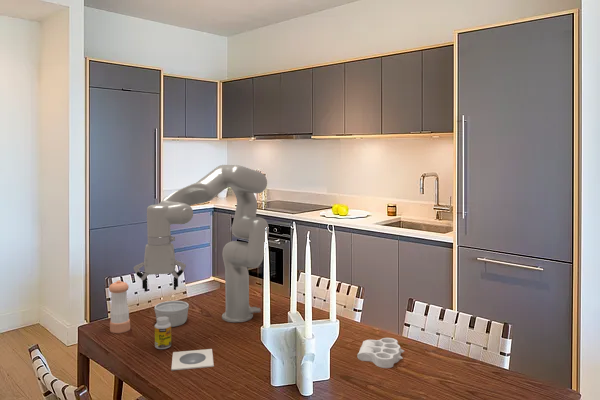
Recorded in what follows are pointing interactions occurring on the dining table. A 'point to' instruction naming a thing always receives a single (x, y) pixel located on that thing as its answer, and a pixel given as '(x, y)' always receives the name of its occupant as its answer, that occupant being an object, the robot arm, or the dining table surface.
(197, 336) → the dining table surface
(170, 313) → the ramekin
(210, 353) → the card
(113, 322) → the salt shaker
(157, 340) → the supplement bottle
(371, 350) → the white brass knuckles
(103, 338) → the dining table surface
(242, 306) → the robot arm
